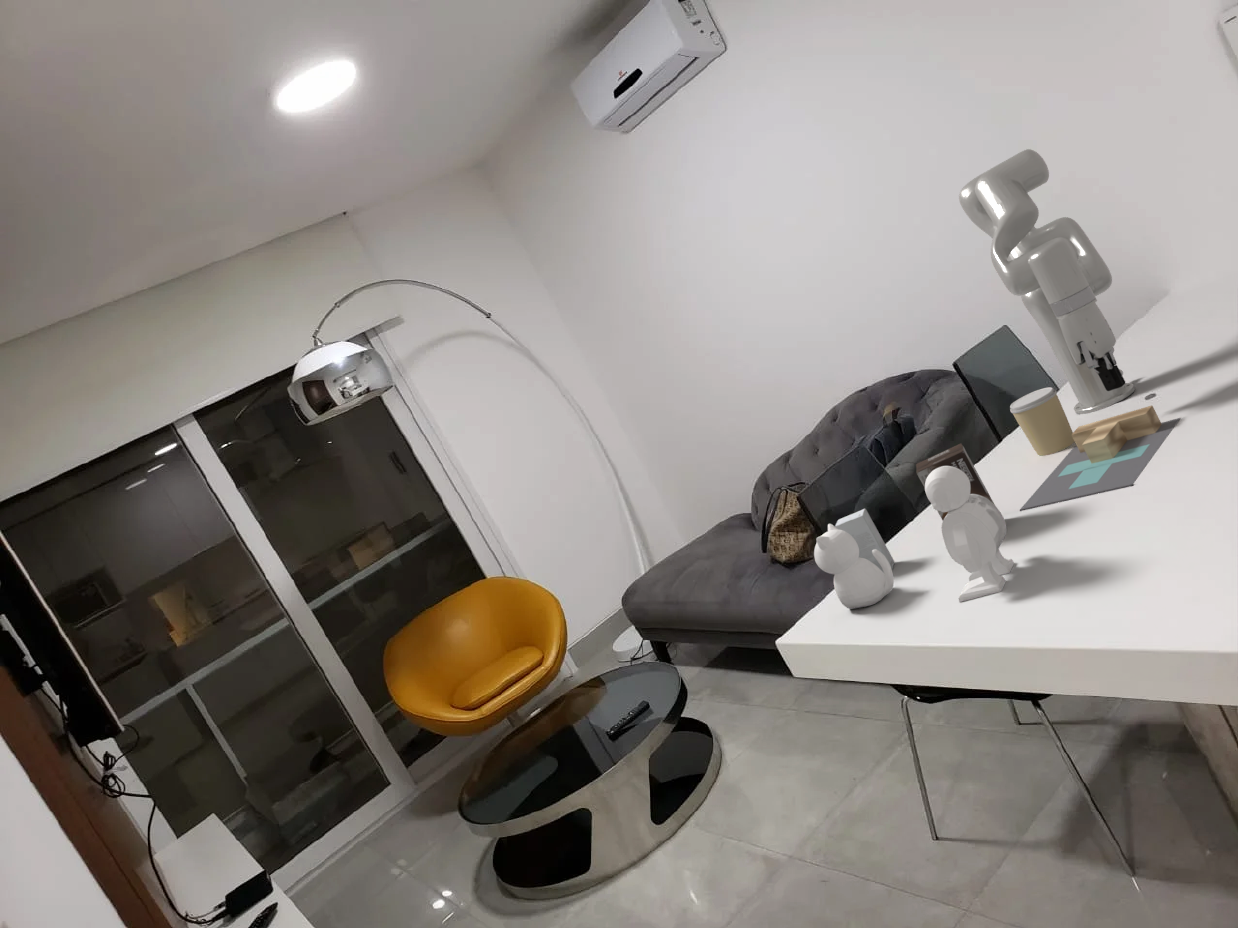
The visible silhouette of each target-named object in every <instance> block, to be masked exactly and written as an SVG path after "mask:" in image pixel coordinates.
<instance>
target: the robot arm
mask: <svg viewBox="0 0 1238 928" xmlns="http://www.w3.org/2000/svg"><path fill="white" fill-rule="evenodd" d="M1049 177H1050V171H1049V168H1048V165H1047V163H1046V161H1045V160H1044V158H1043V157H1042V156H1041V154H1039V153H1038V152H1037V151H1035V150H1033V149H1031V148H1030V149H1029V148H1028V149H1027V148H1026V149H1024V150H1022V151H1019V152H1018V153H1017V154H1015V155H1013V156H1011V157H1009V158H1007V159H1005V160H1004V161H1002V162H1001V163H999V164H997V165H995V166H993V167H992V168H991V167H990V169H988V170H986V171H984V172H983V173H981V174H979V175H978V176H976V177H974V178H973V179H970V181H969V182H967V183H966V184H965V185H964V186H963V187H962V188H961V190H960V192H959V195H958V199H959V203H960V205H961V208H962V209H963V212H964V213H965V214H966V216H967V217H968V218H969V220H970V221H971V222H972V223H973V224H974V225H975V226H976V227H977V228H979V229H980V230H982V231H983V232H984V233H985V234H986V235H988V236H989V237H990V238H991V239H992V241H991V246H990V258H991V262H992V265H993V267H994V269H995V272H996V273H997V274H998V276H999V278H1000V280H1001V281H1002V283H1003V285H1004V286H1005V287H1006V289H1007V290H1008V292H1009V293H1011V294H1012V295H1014V296H1017V297H1021V301H1022V302H1023V303H1022V304H1023V305H1024V307H1025V308H1026V310H1027V311H1028V313H1029V314H1030V316H1032V318H1033V319H1034V321H1035V322H1036V323H1037V325H1038V326H1039V328H1040V330H1041V331H1042V333H1043V335H1044V337H1045V339H1046V340H1047V342H1048V345H1049V346H1050V348H1051V350H1052V352H1053V354H1054V356H1055V358H1056V360H1057V362H1058V364H1059V366H1060V368H1061V370H1062V372H1063V374H1064V375H1065V377H1066V380H1067V382H1068V384H1069V385H1070V387H1071V390H1072V391H1073V394H1074V396H1075V397H1076V399H1077V403H1076V404H1075V405H1074V406H1073V410H1074V412H1075V414H1077V415H1084V414H1085V415H1086V414H1091V413H1093V412H1097V411H1101V410H1102V409H1105V408H1108V407H1110V406H1112V405H1116V404H1117V403H1119V402H1122V401H1123V400H1125V399H1126V398H1129V396H1130V395H1132V394H1133V393H1134V392H1135V390H1136V388H1135V385H1134V384H1133V383H1130V382H1127V383H1126V380H1125V378H1124V377H1123V375H1124V372H1123V370H1122V369H1120V368H1119V367H1118V365H1117V364H1118V363H1117V360H1116V358H1115V356H1114V352H1115V347H1114V346H1115V345H1116V343H1117V339H1116V336H1115V334H1114V332H1113V330H1112V329H1111V326H1110V324H1109V323H1108V321H1107V319H1106V318H1105V316H1104V314H1103V312H1102V311H1101V309H1100V307H1098V304H1097V301H1098V299H1097V298H1096V297H1098V296H1099V295H1101V294H1103V293H1104V292H1106V291H1107V290H1109V289H1110V288H1111V286H1112V283H1113V276H1112V273H1111V272H1110V271H1111V270H1110V269H1109V267H1108V265H1107V264H1106V262H1105V261H1104V259H1103V258H1102V256H1101V255H1100V253H1099V252H1098V250H1097V248H1096V247H1095V246H1094V244H1093V243H1092V242H1091V240H1090V238H1089V237H1088V236H1087V234H1086V232H1085V231H1084V230H1083V228H1082V227H1081V226H1080V224H1079V223H1078V222H1077V221H1076V220H1074V219H1073V218H1070V217H1066V216H1065V217H1060V218H1056V219H1055V220H1053V221H1050V222H1048V223H1047V224H1045V225H1043V226H1040V227H1038V228H1036V227H1035V225H1036V223H1037V222H1038V219H1039V215H1040V213H1039V208H1038V205H1037V204H1036V202H1035V201H1034V200H1033V199H1032V198H1031V196H1030V194H1029V193H1030V192H1031V191H1033V190H1035V189H1037V188H1039V187H1041V186H1043V185H1044V184H1046V183H1047V182H1048V180H1049Z"/></svg>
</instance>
